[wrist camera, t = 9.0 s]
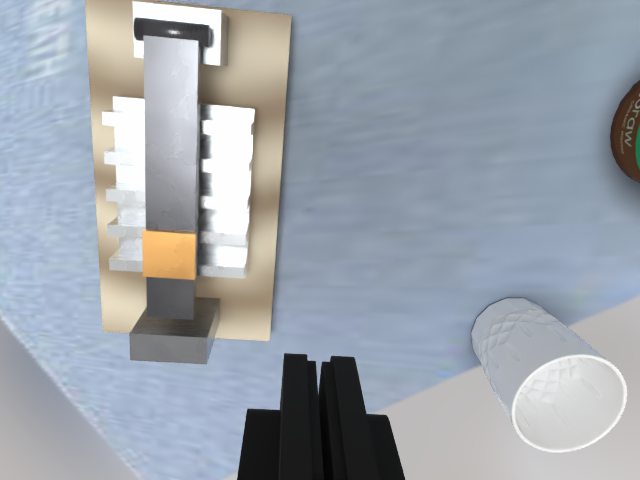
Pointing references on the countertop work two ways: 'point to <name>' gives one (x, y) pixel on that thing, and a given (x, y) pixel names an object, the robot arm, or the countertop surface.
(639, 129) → the food container
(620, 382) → the white cup
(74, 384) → the countertop surface
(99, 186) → the board
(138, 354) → the heat sink
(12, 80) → the countertop surface
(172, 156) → the strap
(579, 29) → the countertop surface
